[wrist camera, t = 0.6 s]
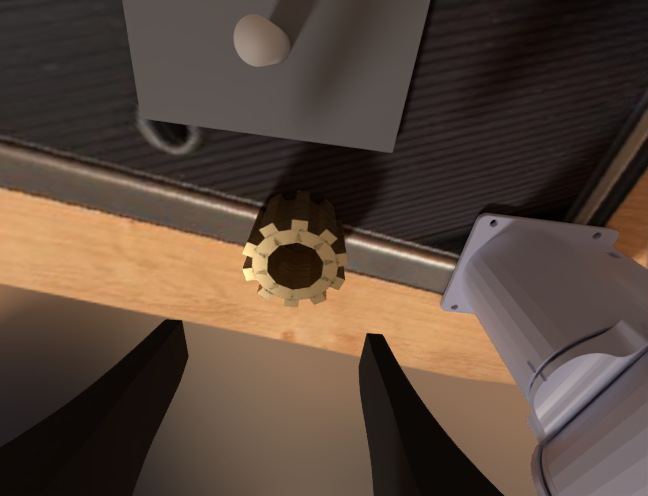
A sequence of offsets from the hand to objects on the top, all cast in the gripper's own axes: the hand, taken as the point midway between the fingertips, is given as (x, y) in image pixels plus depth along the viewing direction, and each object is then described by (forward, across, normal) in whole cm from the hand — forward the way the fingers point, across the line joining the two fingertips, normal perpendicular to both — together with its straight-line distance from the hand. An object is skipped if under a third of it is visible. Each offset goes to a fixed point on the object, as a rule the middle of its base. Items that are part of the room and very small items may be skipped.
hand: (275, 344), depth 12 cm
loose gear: (+9, 0, 0) cm, 9 cm away
